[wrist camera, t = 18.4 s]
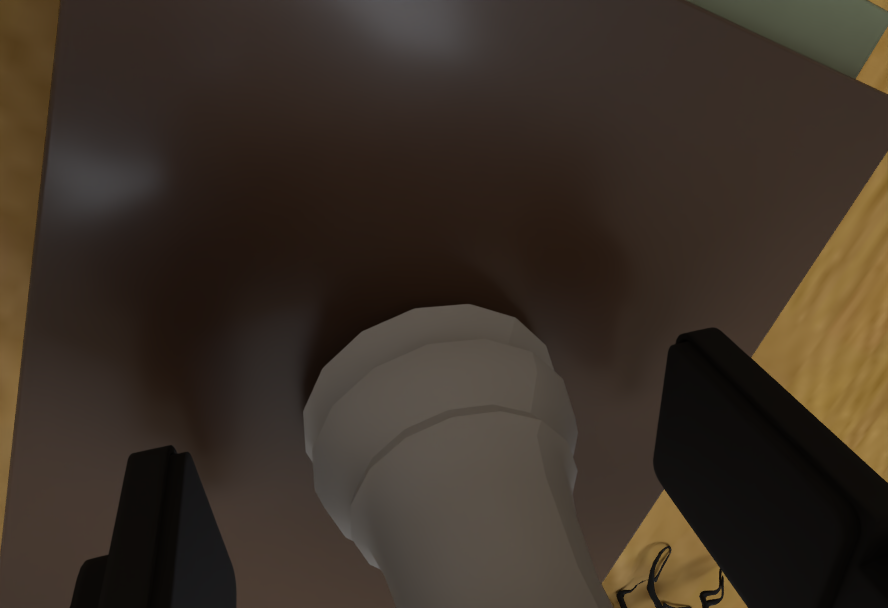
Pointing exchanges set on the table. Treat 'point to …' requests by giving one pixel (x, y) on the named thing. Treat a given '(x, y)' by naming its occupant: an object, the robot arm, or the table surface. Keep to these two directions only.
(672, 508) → the table surface
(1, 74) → the table surface
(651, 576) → the creature
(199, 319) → the cabinet
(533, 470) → the rook chess piece
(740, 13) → the drawer
